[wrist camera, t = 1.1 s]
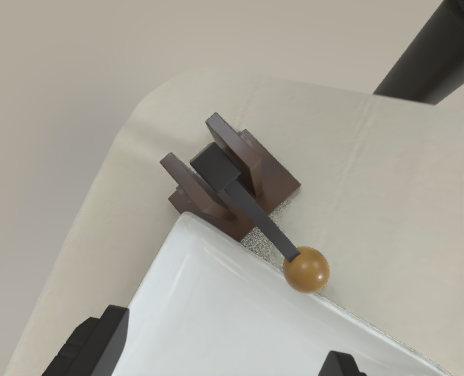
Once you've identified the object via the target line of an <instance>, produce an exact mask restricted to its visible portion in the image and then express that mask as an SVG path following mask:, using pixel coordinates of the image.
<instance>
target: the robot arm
mask: <svg viewBox="0 0 464 376" xmlns="http://www.w3.org/2000/svg"><path fill="white" fill-rule="evenodd" d="M129 314H130V309H129V308H124V307H119V306H114V305H109V306H108V307H107V309H106V310H105V312H104V313H103V315H102V316H101V318H100V319H98V318H93V317H90V318H88V319H87V320H86V321H84V322H83V323H82V324H80V325H79V326H78V327H76V329H75V330H74V331H73V333H72V334H71V336H70V337H69V338H68V340H67V341H66V344H64V345H63V347H62V348H61V349H60V351H59V352H58V355H57V356H55V358H54V359H53V361H52V362H51V363H50V365H49V366H48V367H47V369H46V370H45V372H44V373H43V374H42V376H112V374H113V371H114V369H115V367H116V365H117V363H118V361H119V359H120V357H121V354H122V352H123V349H124V347H125V343H126V339H127V333H128V323H129ZM318 376H367V375H366V373H364V372H360V371H359V369H358V366H357V364H356V362H355V359H354V357H353V356H352V355H351V354H348V353H343V352H338V351H333V350H331V351H329V353H328V355H327V357H326V359H325V361H324V363H323V366H322V368H321V370H320V372H319V374H318Z"/></svg>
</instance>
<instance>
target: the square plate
mask: <svg viewBox="0 0 464 376" xmlns="http://www.w3.org/2000/svg"><path fill="white" fill-rule="evenodd" d="M127 308H129V309H130V314H129V323H128V333H127V339H126V343H125V347H124V349H123V352H122V354H121V357H120V359H119V361H118V363H117V365H116V367H115V369H114V371H113V374H112V376H318V374H319V372H320V370H321V368H322V366H323V363H324V361H325V359H326V357H327V355H328V353H329V351H331V350H333V351H338V352H343V353H348V354H351V355H352V356H353V357H354V359H355V362H356V364H357V366H358V369H359V371H360V372H364V373H366V375H367V376H452V375H451V374H450V373H449V372H447V371H446V370H445V369H443V368H442V367H441V366H439V365H438V364H436V363H434V362H433V361H431V360H430V359H428V358H426V357H425V356H423V355H421V354H420V353H418V352H417V351H415V350H413V349H412V348H410V347H408V346H406V345H405V344H403V343H401V342H399V341H398V340H396V339H394V338H392V337H391V336H389V335H387V334H386V333H384V332H382V331H381V330H379V329H377V328H375V327H374V326H372V325H370V324H368V323H367V322H365V321H363V320H361V319H360V318H358V317H356V316H355V315H353V314H351V313H350V312H348V311H346V310H345V309H343V308H341V307H340V306H338V305H336V304H334V303H333V302H331V301H329V300H328V299H326V298H324V297H323V296H321V295H319V294H318V293H312V294H305V293H300V292H298V291H296V290H294V289H293V288H292V287H291V286H290V285H289V284H288V283H287V281H286V280H285V277H284V274H283V271H281V270H280V269H278V268H277V267H275V266H273V265H272V264H270V263H269V262H267V261H266V260H264V259H263V258H261V257H260V256H258V255H257V254H255V253H254V252H252V251H251V250H249V249H248V248H246V247H245V246H243V245H242V244H240V243H239V242H237V241H236V240H234V239H233V238H231V237H230V236H228V235H227V234H225V233H224V232H222V231H221V230H219V229H218V228H216V227H215V226H213V225H212V224H210V223H209V222H207V221H205V220H204V219H202V218H200V217H199V216H197V215H195V214H193V213H191V212H183V213H182V214H181V215H180V216H179V218H178V219H177V221H176V222H175V224H174V225H173V227H172V229H171V230H170V232H169V234H168V235H167V237H166V239H165V241H164V242H163V244H162V246H161V247H160V249H159V251H158V253H157V255H156V256H155V258H154V260H153V262H152V264H151V265H150V267H149V269H148V271H147V273H146V274H145V276H144V278H143V280H142V281H141V283H140V285H139V287H138V289H137V291H136V292H135V294H134V296H133V297H132V299H131V301H130V303H129V305H128V306H127Z"/></svg>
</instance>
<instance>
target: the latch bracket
mask: <svg viewBox="0 0 464 376" xmlns="http://www.w3.org/2000/svg"><path fill="white" fill-rule="evenodd" d="M205 123H206V125H207V126H208V128H209V130H210V132H211V134H212V136H213V138H214V140H215V142H216V143H217V145H218V146H219V147H220V148H221V149H222V151H223V152H224V153H225V154H226V155H227V156H228V157H229V159H230V160H231V161H232V162H233V163H234V164H235V166H236V167H237V168H238V169H239V170H240V171H241V174H240V175H239V176H238V177H236V178H235V179H236V180H237V181H238V182H239V183H240V185H241V186H242V187H243V188H244V189H245V190H246V191H247V193H248V194H249V195H250V196H251V197H252V198H253V199H254V200H255V202H256V203H257V204H258V205H259V206H260V207H261V208H262V210H263V211H264V212H265V213H266V214H267V215H269V214H271V213H272V212H273V211H274V210H275V209H276V208H277V207H278V206H279V205H280V204H282V203H283V202H284V201H285V200H286V199H287V198H288V197H289V196H290V195H291V194H293V193H294V192H295V191H296V190H297V189H298V188H299V187H300V186H301V184H300V183H299V182H298V181H297V180H296V179H295V178H294V177H293V176H292V175H291V174H290V173H289V172H288V171H287V170H286V169H285V168H284V167H283V166H282V165H281V164H280V163H279V162H278V161H277V160H276V159H275V158H274V157H273V156H272V155H271V154H270V153H269V152H268V151H267V150H266V149H265V148H264V147H263V146H262V145H261V144H260V143H259V142H258V141H257V140H256V139H255V138H254V137H253V136H252V135H251V134H250V133H249V132H248V131H247V130H246V129H245V130H244V131H243V132H242V133H241V132H238V133H236V132H235V131H234V130H233V129H232V128H231V127H230V126H229V125H228V124H227V123H226V122H225V121H224V120H223V119H222V118H221V117H220V116H219V114H218V113H214V114H213V115H212V116H211V117H210V118H209V119H208V120H206V121H205ZM160 163H161V164H162V166H163V167H164V168H165V169H166V170H167V171H168V173H169V174H170V175H171V176H172V177H173V178H174V180H175V181H176V182H177V183H178V184H179V186H178V187H177V188H176V189H177V191H176V192H175V193H173V194H172V195H171V196H170V197H169V198H168V199H169V200H170V202H171V203H172V204H173V205H174V206H175V208H176V209H177V210H178V211H179V212H180V214H182V213H183V212H191V213H193V214H195V215H197V216H199V217H200V218H202V219H204V220H205V221H207V222H209V223H210V224H212V225H213V226H215V227H216V228H218V229H219V230H221V231H222V232H224V233H225V234H227V235H228V236H230V237H231V238H233V239H234V240H236V241H237V242H240V241H241V240H242V239H243V238H244V237H245V236H246V235H248V234H249V233H250V232H251V231H252V230H253V229H254V228H255V227H256V226H257V225H256V224H255V223H254V222H253V221H252V220H251V219H250V218H249V217H248V215H247V214H246V213H245V212H244V211H243V210H242V209H241V208H240V207H239V205H238V204H237V203H236V202H235V201H234V200H233V199H232V198H231V197H230V195H229V194H228V193H227V192H226V191H225V190H224V189H223V190H222V191H221V192H220V193H219V194H217V193H216V192H215V191H214V190H213V189H212V188H211V187H210V186H209V184H208V183H207V182H206V181H205V180H204V179H203V178H202V177H201V176H200V175H199V174H198V172H197V173H196V174H195V173H194V172H193V171H192V170H191V169H189V168H188V167H187V166H186V165H185V164H184V163H183V162H182V161H180V160H179V159H178V158H177V157H176V156H175V155H174V154H172V153H171V152H170V153H169V154H168V155H167V156H166V157H165V158H164V159H162V160H161V161H160Z"/></svg>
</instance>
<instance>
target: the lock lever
mask: <svg viewBox="0 0 464 376" xmlns="http://www.w3.org/2000/svg"><path fill="white" fill-rule="evenodd" d="M190 165H191V166H192V167H193V168H194V169H195V170H196V171H197V172H198V174H199V175H200V176H201V177H202V178H203V179H204V180H205V181H206V182H207V183H208V184H209V186H210V187H211V188H212V189H213V190H214V191H215V192H216V193H217V194H219V193H220V192H221V191H222V190H223V189H224V190H225V191H226V192H227V193H228V194H229V195H230V197H231V198H232V199H233V200H234V201H235V202H236V203H237V204H238V205H239V207H240V208H241V209H242V210H243V211H244V212H245V213H246V214H247V215H248V217H249V218H250V219H251V220H252V221H253V222H254V223H255V224H256V225H257V227H258V228H259V229H260V230H261V231H262V232H263V233H264V234H265V235H266V236H267V238H268V239H269V240H270V241H271V242H272V243H273V244H274V245H275V246H276V248H277V249H278V250H279V251H280V252H281V253H282V254H283V255H284V256H285V259H284V263H283V274H284V277H285V280H286V281H287V283H288V284H289V285H290V286H291V287H292V288H293V289H294V290H296V291H298V292H300V293H305V294H312V293H316V292H318V291H320V290H321V289H322V288H323V287H324V286H325V285H326V283H327V282H328V279H329V274H330V271H329V265H328V262H327V260H326V259H325V257H324V256H323V255H322V254H321V253H320V252H319V251H317V250H316V249H314V248H311V247H298V248H296V247H295V246H294V245H293V244H292V243H291V241H290V240H289V239H288V238H287V237H286V236H285V235H284V234H283V232H282V231H281V230H280V229H279V228H278V227H277V226H276V224H275V223H274V222H273V221H272V220H271V219H270V218H269V216H268V215H267V214H266V213H265V212H264V211H263V210H262V208H261V207H260V206H259V205H258V204H257V203H256V202H255V200H254V199H253V198H252V197H251V196H250V195H249V194H248V193H247V191H246V190H245V189H244V188H243V187H242V186H241V185H240V183H239V182H238V181H237V180H236V179H235V178H236V177H238V176H239V175H240V174H241V171H240V170H239V169H238V168H237V167H236V166H235V164H234V163H233V162H232V161H231V160H230V159H229V157H228V156H227V155H226V154H225V153H224V152H223V151H222V149H221V148H220V147H219V146H218V145H217V144H216V142H211V143H210V144H209V145H207V146H206V147H205V148H204V149H203V150H202V151H201V152H200V153H198V154H197V155H196V156H195V157H194V158H193V159H192V160H191V161H190Z"/></svg>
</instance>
